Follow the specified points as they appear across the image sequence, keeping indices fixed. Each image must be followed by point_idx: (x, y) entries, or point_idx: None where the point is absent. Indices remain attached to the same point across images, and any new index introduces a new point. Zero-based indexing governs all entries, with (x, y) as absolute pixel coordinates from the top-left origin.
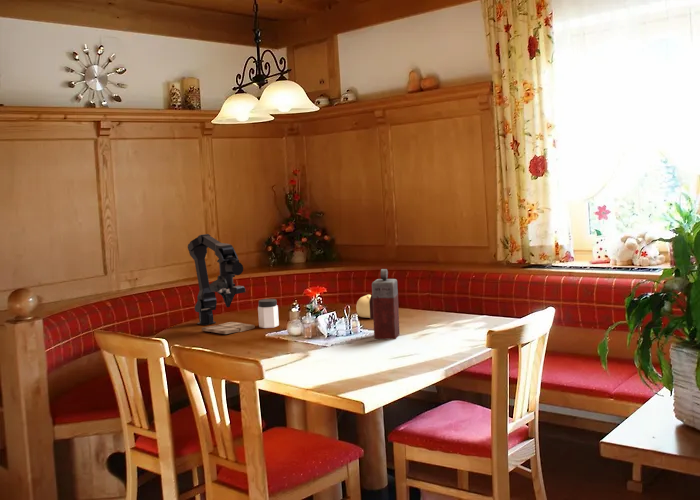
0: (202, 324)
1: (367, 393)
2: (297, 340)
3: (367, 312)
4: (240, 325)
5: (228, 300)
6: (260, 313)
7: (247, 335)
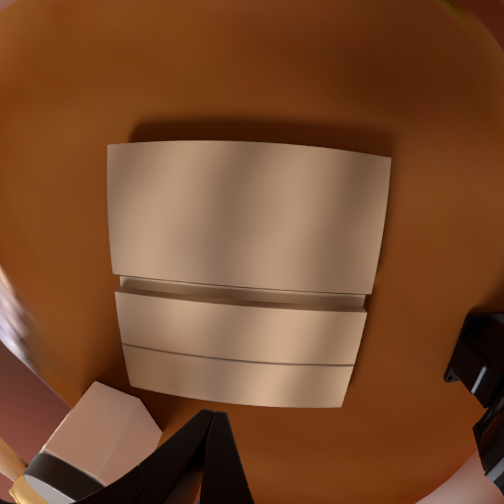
0: (485, 313)
1: None
2: None
3: (22, 476)
4: (192, 358)
5: (139, 475)
6: (88, 439)
7: (36, 221)
